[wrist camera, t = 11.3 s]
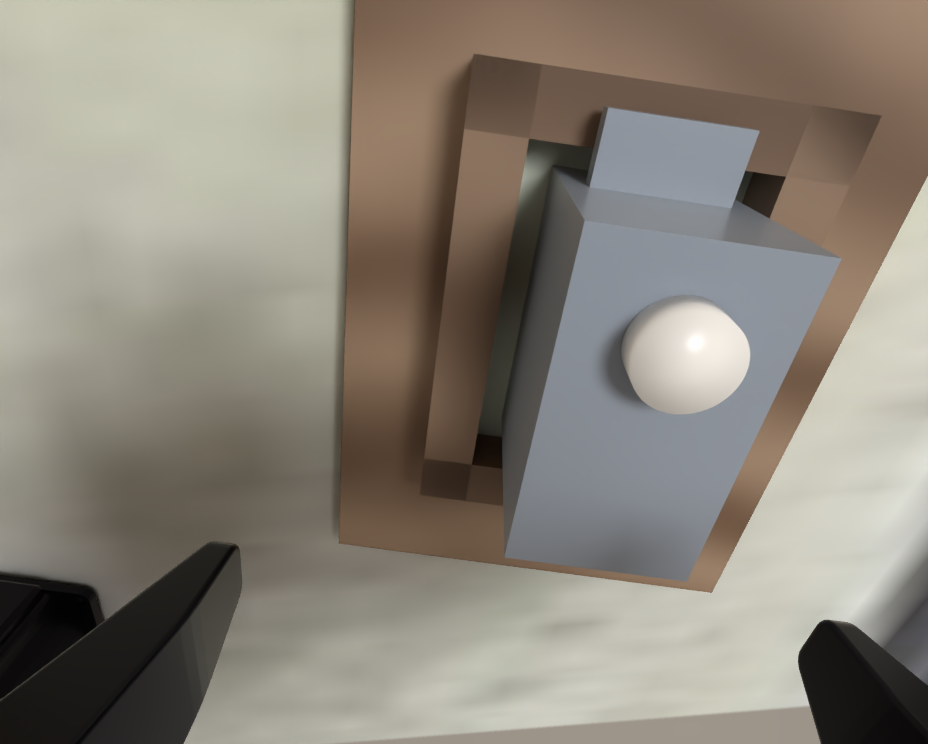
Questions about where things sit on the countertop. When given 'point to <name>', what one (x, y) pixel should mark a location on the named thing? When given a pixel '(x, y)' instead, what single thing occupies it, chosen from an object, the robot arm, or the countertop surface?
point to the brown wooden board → (522, 201)
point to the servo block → (648, 347)
